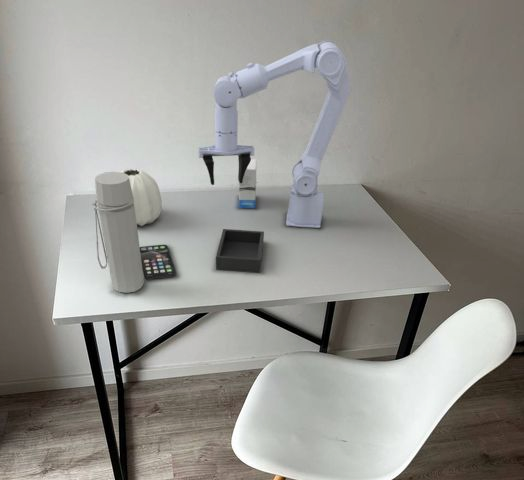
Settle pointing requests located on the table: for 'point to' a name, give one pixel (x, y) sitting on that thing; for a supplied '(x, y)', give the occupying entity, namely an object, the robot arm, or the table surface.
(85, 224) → the table surface
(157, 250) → the smartphone
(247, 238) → the tray
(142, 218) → the vase
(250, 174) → the ink box
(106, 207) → the water bottle
